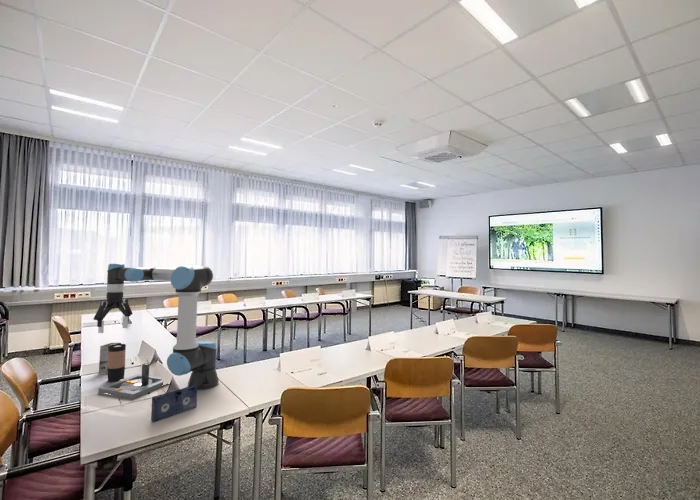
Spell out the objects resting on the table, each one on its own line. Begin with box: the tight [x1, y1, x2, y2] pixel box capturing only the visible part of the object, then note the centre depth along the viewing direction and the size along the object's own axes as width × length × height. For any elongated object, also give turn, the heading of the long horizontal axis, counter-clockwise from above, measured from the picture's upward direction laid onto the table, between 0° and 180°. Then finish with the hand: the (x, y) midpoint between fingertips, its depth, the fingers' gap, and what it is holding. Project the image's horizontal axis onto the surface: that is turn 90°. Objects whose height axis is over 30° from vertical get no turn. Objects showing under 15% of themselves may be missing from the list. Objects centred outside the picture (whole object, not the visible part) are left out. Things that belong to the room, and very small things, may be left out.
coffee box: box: [98, 342, 122, 375], centre depth 194 cm, size 9×6×16 cm
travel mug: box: [107, 343, 127, 383], centre depth 178 cm, size 8×8×20 cm
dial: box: [120, 362, 152, 391], centre depth 167 cm, size 14×14×12 cm
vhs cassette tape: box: [150, 385, 198, 423], centre depth 143 cm, size 18×3×10 cm, turn 141°
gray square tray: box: [97, 373, 164, 400], centre depth 167 cm, size 22×22×4 cm
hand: (113, 330), depth 179 cm, fingers open, 13 cm apart
